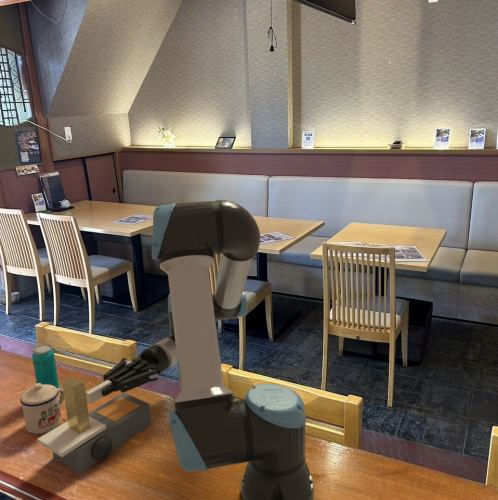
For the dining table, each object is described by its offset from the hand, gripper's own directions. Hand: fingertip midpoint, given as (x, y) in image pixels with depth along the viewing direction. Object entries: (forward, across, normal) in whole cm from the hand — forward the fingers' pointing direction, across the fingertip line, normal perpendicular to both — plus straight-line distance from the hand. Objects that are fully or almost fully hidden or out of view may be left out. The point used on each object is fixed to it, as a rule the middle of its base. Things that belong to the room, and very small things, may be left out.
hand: (88, 398), depth 119 cm
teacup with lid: (0, +19, -14) cm, 24 cm away
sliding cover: (+5, 0, -7) cm, 9 cm away
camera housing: (-3, 0, -14) cm, 14 cm away
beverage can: (-8, +30, -14) cm, 34 cm away
